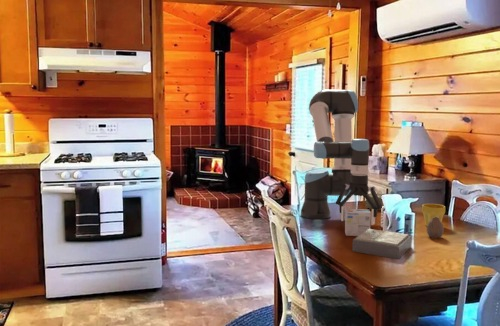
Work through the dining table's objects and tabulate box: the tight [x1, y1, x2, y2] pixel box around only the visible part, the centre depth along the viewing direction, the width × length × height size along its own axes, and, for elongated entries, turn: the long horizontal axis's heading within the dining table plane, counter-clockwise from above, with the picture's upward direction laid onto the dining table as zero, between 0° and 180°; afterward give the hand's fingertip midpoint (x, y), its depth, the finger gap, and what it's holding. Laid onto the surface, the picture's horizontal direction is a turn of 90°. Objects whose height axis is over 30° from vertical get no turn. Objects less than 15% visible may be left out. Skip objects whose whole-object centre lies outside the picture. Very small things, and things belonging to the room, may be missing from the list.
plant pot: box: [421, 203, 446, 227], centre depth 233 cm, size 10×10×10 cm
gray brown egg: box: [426, 217, 445, 239], centre depth 213 cm, size 7×7×9 cm
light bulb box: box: [344, 208, 372, 237], centre depth 217 cm, size 11×7×11 cm, turn 84°
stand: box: [352, 228, 412, 260], centre depth 196 cm, size 18×18×5 cm
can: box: [365, 193, 385, 211], centre depth 272 cm, size 12×12×7 cm
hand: (357, 222), depth 217 cm, fingers open, 13 cm apart
